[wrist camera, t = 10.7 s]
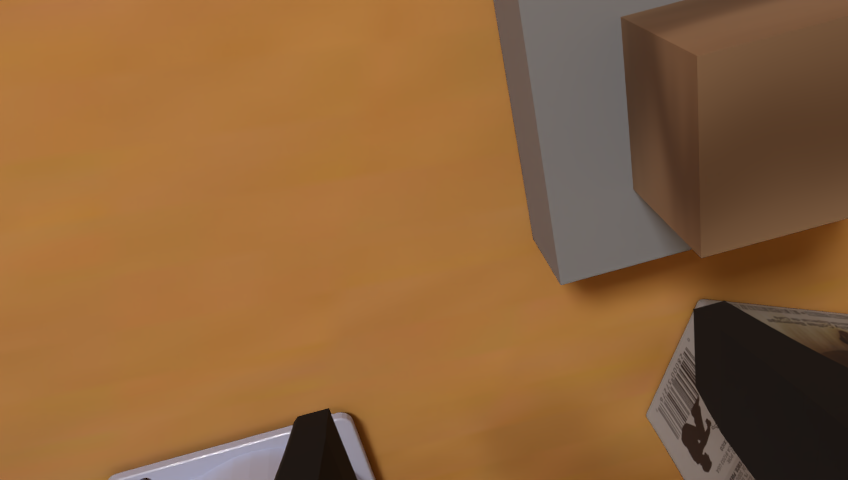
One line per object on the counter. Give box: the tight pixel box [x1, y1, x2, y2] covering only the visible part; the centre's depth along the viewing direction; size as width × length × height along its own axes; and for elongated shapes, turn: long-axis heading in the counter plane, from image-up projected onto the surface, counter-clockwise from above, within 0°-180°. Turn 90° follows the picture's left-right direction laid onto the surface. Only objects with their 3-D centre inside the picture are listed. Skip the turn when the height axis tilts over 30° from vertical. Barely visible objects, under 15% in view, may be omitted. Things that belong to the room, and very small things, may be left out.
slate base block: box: [494, 0, 692, 285], centre depth 20 cm, size 10×10×3 cm
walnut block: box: [621, 0, 848, 258], centre depth 17 cm, size 5×5×4 cm
